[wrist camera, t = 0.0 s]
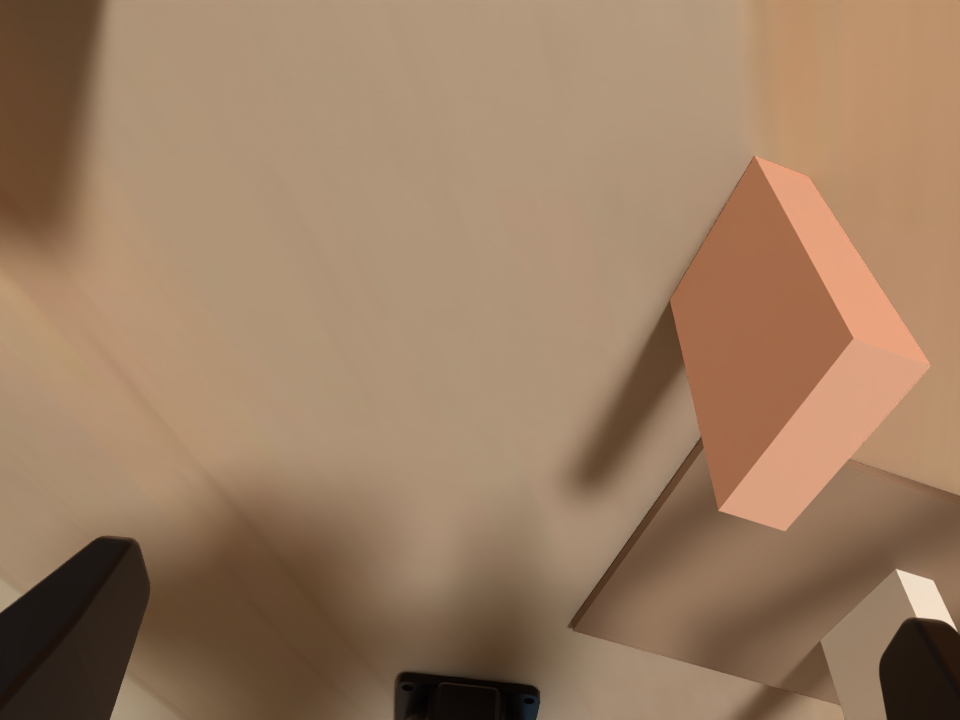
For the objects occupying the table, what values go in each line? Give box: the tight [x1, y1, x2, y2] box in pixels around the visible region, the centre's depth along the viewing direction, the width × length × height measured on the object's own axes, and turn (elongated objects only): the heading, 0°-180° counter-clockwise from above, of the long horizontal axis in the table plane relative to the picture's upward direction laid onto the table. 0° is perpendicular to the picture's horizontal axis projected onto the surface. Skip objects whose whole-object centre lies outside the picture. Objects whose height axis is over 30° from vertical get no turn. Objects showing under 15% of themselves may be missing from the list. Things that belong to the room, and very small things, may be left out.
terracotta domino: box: [670, 156, 931, 531], centre depth 19 cm, size 2×5×8 cm, turn 161°
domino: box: [820, 569, 958, 720], centre depth 27 cm, size 2×5×8 cm, turn 161°
